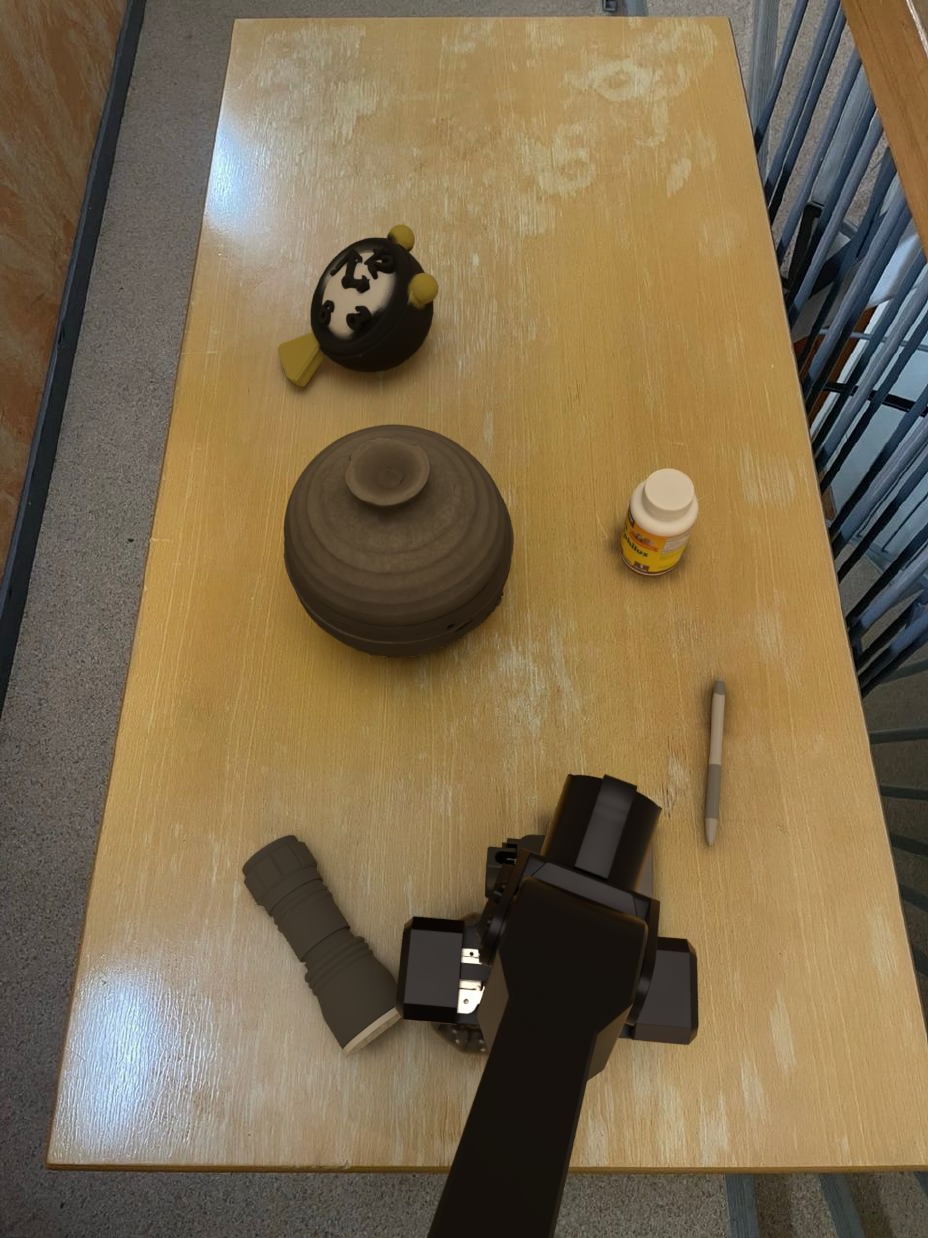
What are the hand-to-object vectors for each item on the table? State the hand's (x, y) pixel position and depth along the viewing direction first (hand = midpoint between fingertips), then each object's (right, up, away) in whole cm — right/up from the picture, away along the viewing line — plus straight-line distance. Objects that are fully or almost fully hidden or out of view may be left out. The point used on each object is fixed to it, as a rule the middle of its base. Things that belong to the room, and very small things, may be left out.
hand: (539, 987), depth 66 cm
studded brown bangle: (-4, 0, 0) cm, 4 cm away
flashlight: (-15, +2, +3) cm, 16 cm away
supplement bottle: (+11, +32, +16) cm, 38 cm away
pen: (+15, +15, +8) cm, 22 cm away
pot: (-10, +28, +15) cm, 34 cm away
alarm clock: (-15, +53, +26) cm, 61 cm away
